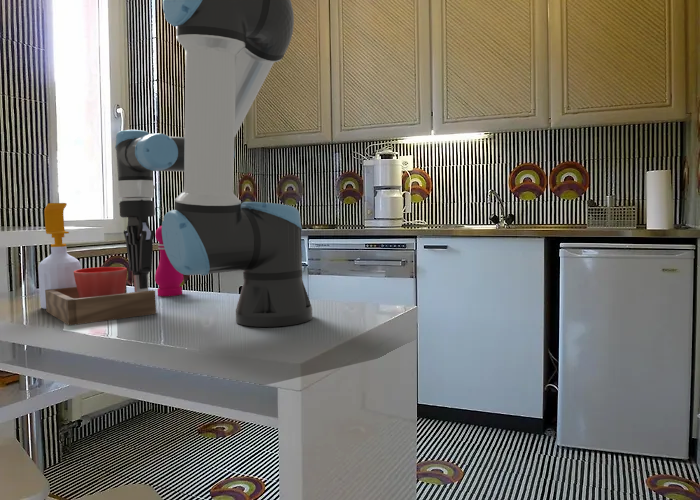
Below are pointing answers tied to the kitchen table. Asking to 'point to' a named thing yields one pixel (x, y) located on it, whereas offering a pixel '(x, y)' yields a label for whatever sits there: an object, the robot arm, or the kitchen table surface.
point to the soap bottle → (56, 255)
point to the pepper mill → (166, 272)
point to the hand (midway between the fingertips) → (142, 302)
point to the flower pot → (100, 281)
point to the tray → (98, 305)
